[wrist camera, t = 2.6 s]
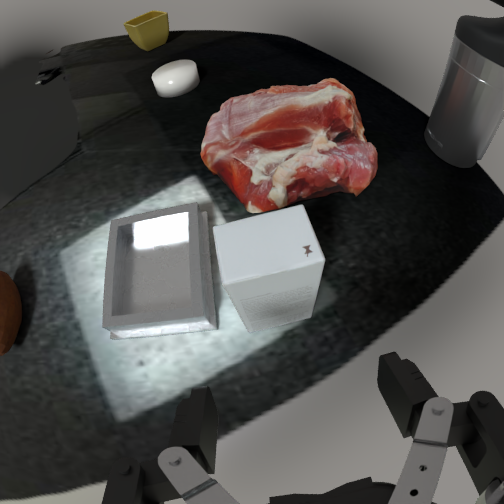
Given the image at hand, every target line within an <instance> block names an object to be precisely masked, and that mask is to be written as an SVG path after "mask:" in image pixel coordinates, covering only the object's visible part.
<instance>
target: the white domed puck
mask: <svg viewBox="0 0 504 504" xmlns="http://www.w3.org/2000/svg"><path fill="white" fill-rule="evenodd" d="M152 80H153V82H154V85H155V88H156V91H157V93H158V95H159V96H161V97H175V96H179V95H183V94H185V93H187V92H189V91H191V90H193V89H194V88H195V87H196V86H197V85H198V84H199V82H200V79H199V75H198V71H197V67H196V64H195V62H193V61H191V60H179V61H174V62H171V63H168V64H166V65H164V66H162V67H160V68H159V69H157V70H156V71H155V72H154V73H153V75H152Z"/></svg>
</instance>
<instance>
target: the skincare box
mask: <svg viewBox="0 0 504 504" xmlns="http://www.w3.org/2000/svg"><path fill="white" fill-rule="evenodd" d="M213 234H214V240H215V247H216V253H217V259H218V265H219V270H220V276H221V281H222V285H223V287H224V289H225V290H226V292H227V294H228V295H229V297H230V299H231V301H232V303H233V305H234V307H235V308H236V310H237V312H238V314H239V316H240V318H241V320H242V322H243V323H244V325H245V327H246V329H247V331H248V332H249V333H252V332H256V331H261V330H265V329H269V328H273V327H277V326H281V325H285V324H289V323H292V322H296V321H300V320H304V319H307V318H311V316H312V312H313V308H314V304H315V301H316V297H317V293H318V288H319V284H320V280H321V276H322V271H323V268H324V263H325V257H324V255H323V252H322V250H321V247H320V245H319V242H318V240H317V237H316V235H315V232H314V230H313V227H312V225H311V222H310V220H309V217H308V215H307V212H306V210H305V208H304V206H303V205H298V206H294V207H289V208H285V209H281V210H277V211H273V212H269V213H265V214H261V215H257V216H253V217H249V218H245V219H241V220H237V221H233V222H229V223H226V224H221V225H217V226H214V227H213Z"/></svg>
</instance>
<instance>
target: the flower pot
mask: <svg viewBox="0 0 504 504" xmlns="http://www.w3.org/2000/svg"><path fill="white" fill-rule="evenodd" d="M124 26H125V28H126V30H127V32H128V34H129V36H130V38H131V39H132V41H133V42H134V43H135V44H136V45H137V46H139V47H140V48H141V49H144V50H146V51H150V50H152V49H154V48H156V47H158V46H161V45H163V44H165V43H166V41H167V38H168V34H169V22H168V14H167V13H166V12H161V11H150V12H148V13H145V14H143V15H141V16H138V17H136V18H134V19H132V20H130V21H127V22H125V23H124Z"/></svg>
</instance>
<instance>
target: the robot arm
mask: <svg viewBox="0 0 504 504" xmlns="http://www.w3.org/2000/svg"><path fill="white" fill-rule="evenodd" d="M490 1H493V2H495V3H496V4H498V5H500V6H502V7H504V0H490ZM503 110H504V17H500V18H482V17H476V16H469V15H468V16H467V15H465V16H461V17H460V18H459V20H458V22H457V26H456V30H455V34H454V38H453V42H452V46H451V50H450V54H449V58H448V61H447V65H446V69H445V72H444V75H443V79H442V82H441V85H440V88H439V91H438V95H437V98H436V101H435V104H434V107H433V110H432V112H431V115H430V118H429V121H428V124H427V127H426V130H425V132H424V137H425V140H426V142H427V144H428V146H429V147H430V149H431V150H432V151H433V152H434V153H435V154H436V155H437V156H438V157H440V158H441V159H442V160H444V161H446V162H447V163H449V164H451V165H453V166H456V167H460V168H470V167H473V166H474V165H475V164H476V162H477V160H481V159H482V157H483V155H484V154H485V152H486V150H487V148H488V146H489V144H490V143H491V141H492V139H493V137H494V135H495V133H496V131H497V129H498V127H499V125H500V123H501V121H502V119H503V117H504V111H503ZM377 381H378V388H379V390H380V392H381V394H382V396H383V398H384V400H385V402H386V404H387V406H388V408H389V410H390V412H391V414H392V416H393V418H394V420H395V422H396V424H397V426H398V428H399V429H400V432H401V433H402V436H403V438H406V437H409V436H412V438H413V443H412V446H411V449H410V452H409V454H408V457H407V460H406V462H405V465H404V468H403V470H402V473H401V475H400V478H399V480H398V482H397V485H394V484H391V483H385V482H372V479H371V477H368V478H364V479H360V480H357V481H354V482H349V483H346V484H344V485H342V486H340V487H337V488H335V489H333V490H331V491H329V492H326V493H324V494H290V495H283V496H275V497H270V503H268V504H436V503H434V502H432V498H433V496H434V493H435V490H436V487H437V484H438V481H439V477H440V474H441V470H442V467H443V463H444V459H445V456H446V452H447V447H452V446H456V447H457V449H458V452H459V454H460V456H461V458H462V459H463V462H464V464H465V466H466V468H467V470H468V472H469V474H470V476H471V478H472V480H473V482H474V485H475V487H476V489H477V491H478V493H479V498H478V499H477V501H476V503H475V504H504V408H503V407H502V406H501V404H500V403H499V402H498V400H497V399H496V398H495V396H494V395H493V394H492V393H490V392H487V391H478V392H476V393H474V394H473V395H472V396H471V398H470V400H469V401H467V402H460V403H451V402H450V400H448V399H446V398H443V397H438V395H437V394H436V393H435V391H434V390H433V388H432V387H431V385H430V384H429V383H428V382H427V380H426V378H425V377H424V376H423V374H422V373H421V372H420V370H419V369H418V367H417V366H416V365H415V364H414V363H413V362H411V361H410V360H408V359H404V360H401V359H400V357H399V356H398V354H397V353H396V352H391V353H388V354H384V355H381V356H380V357H379V366H378V378H377ZM175 415H176V416H175V419H174V423H173V428H172V432H171V437H170V441H169V446H168V449H166V450H164V451H163V452H162V453H161V454H160V455H159V457H158V458H157V459H154V460H150V461H146V462H141V463H139V462H138V461H137V460H135V459H134V458H131V457H124V458H120V459H118V460H117V461H115V462H114V463H113V465H112V467H111V470H110V473H109V477H108V481H107V485H106V489H105V493H104V497H103V501H102V504H164V502H165V501H169V500H173V499H178V498H183V499H184V501H185V502H186V503H187V504H239V503H238V502H237V501H236V500H235V499H234V498H233V497H232V496H231V495H230V494H229V493H228V492H227V491H226V490H225V489H224V488H223V487H222V486H221V485H220V484H219V483H218V482H217V481H216V480H213V479H212V478H211V477H210V476H209V475H208V474H214V472H215V458H216V444H217V431H218V411H217V407H216V404H215V402H214V399H213V396H212V393H211V390H210V388H209V386H205V387H194V388H192V391H191V396H190V398H187V399H183V400H182V401H181V402H180V404H179V405H178V406H177V410H176V414H175Z"/></svg>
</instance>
